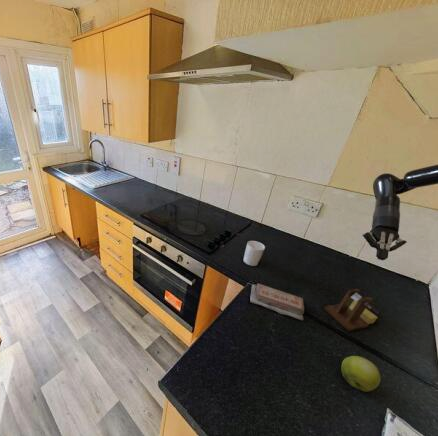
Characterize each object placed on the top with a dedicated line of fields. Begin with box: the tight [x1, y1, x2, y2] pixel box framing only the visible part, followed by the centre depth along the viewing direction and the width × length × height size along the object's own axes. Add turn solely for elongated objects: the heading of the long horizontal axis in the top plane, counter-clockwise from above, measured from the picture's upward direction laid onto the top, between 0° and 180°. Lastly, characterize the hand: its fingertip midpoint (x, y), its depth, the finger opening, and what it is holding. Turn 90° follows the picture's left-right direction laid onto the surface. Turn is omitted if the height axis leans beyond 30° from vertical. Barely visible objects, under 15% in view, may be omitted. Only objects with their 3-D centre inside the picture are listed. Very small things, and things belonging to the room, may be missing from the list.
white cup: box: [243, 240, 266, 267], centre depth 110 cm, size 8×8×10 cm
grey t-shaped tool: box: [351, 293, 382, 317], centre depth 83 cm, size 15×6×2 cm
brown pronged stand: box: [323, 288, 373, 332], centre depth 82 cm, size 9×10×12 cm
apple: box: [340, 355, 382, 393], centre depth 63 cm, size 8×9×8 cm
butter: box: [349, 300, 378, 325], centre depth 86 cm, size 4×8×3 cm, turn 13°
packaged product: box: [249, 283, 305, 321], centre depth 88 cm, size 18×5×10 cm
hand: (381, 259), depth 87 cm, fingers closed
